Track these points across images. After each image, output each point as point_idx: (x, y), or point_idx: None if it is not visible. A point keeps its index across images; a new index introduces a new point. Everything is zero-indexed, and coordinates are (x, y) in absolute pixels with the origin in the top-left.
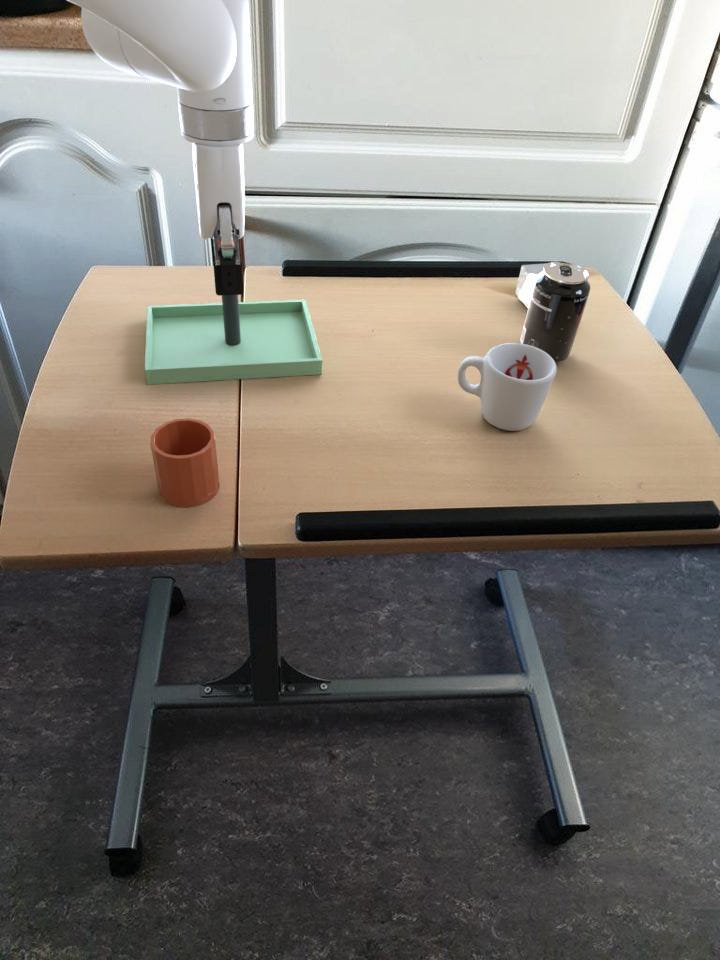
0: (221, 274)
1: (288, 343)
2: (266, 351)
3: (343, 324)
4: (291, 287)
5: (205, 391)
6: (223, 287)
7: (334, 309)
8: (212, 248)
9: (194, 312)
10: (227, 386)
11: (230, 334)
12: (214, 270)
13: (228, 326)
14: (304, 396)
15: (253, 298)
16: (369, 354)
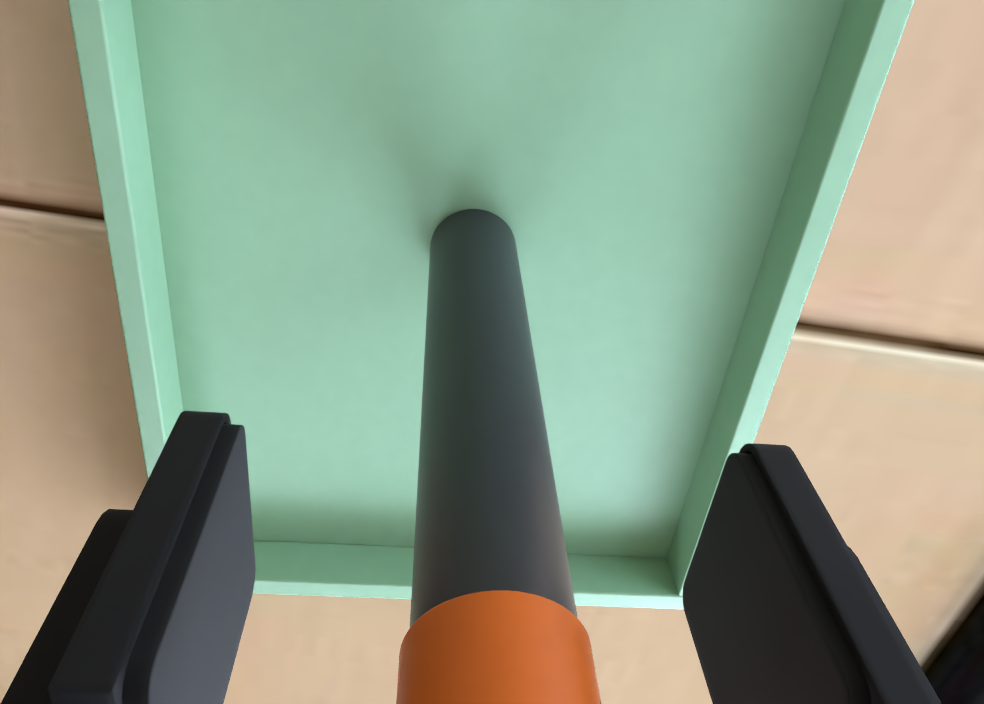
0: (36, 642)
1: (409, 475)
2: (353, 383)
3: None
4: (911, 544)
5: (14, 19)
6: (99, 529)
7: (667, 643)
8: (824, 578)
9: (832, 77)
10: (76, 150)
11: (430, 265)
12: (86, 609)
13: (435, 282)
14: (19, 455)
15: (897, 391)
16: (322, 680)
